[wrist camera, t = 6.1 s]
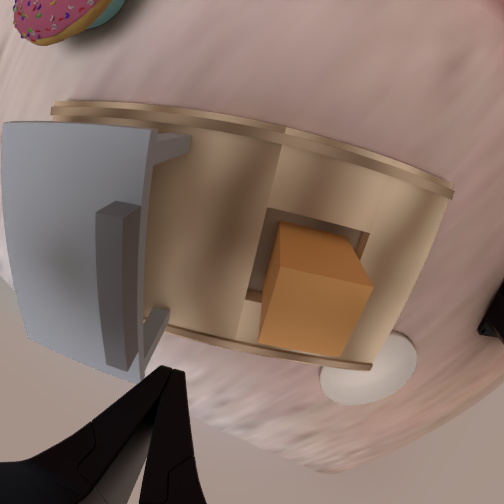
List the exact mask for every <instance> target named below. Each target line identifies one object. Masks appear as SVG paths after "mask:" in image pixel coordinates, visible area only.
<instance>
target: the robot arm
mask: <svg viewBox="0 0 504 504" xmlns="http://www.w3.org/2000/svg"><path fill="white" fill-rule="evenodd" d="M478 333H479V334H480V335H484V336H492V337H498V338H499V339H500V341H501V342H502V343H503V345H504V282H503V284H502V286H501V288H500V290H499V292H498V294H497V296H496V298H495V300H494V302H493V304H492V305H491V307H490V309H489V311H488V313H487V314H486V316H485V318H484V320H483V321H482V323H481V325H480V326H479V328H478ZM146 458H147V460H146ZM145 460H146V466H145V471H144V476H143V481H142V487H141V493H140V499H139V504H207V503H206V500H205V497H204V495H203V492H202V488H201V485H200V482H199V478H198V473H197V468H196V461H195V457H194V448H193V441H192V433H191V425H190V417H189V408H188V399H187V389H186V378H185V372H184V371H181V370H177V369H172V368H170V367H167V366H163V365H161V366H159V367H158V368H157V369H155V370H154V371H153V372H152V373H150V374H149V375H148V376H147V377H146V378H144V379H143V380H142V381H141V382H139V383H138V384H137V385H136V386H134V387H133V388H132V389H131V390H130V391H128V392H127V393H126V394H125V395H123V396H122V397H121V398H120V399H118V400H117V401H116V402H115V403H113V404H112V405H111V406H110V407H109V408H107V409H106V410H105V411H103V412H102V413H101V414H99V415H98V416H97V417H96V418H94V419H93V420H92V422H89V423H88V424H86V425H85V426H84V427H83V428H81V429H80V430H78V431H77V432H76V433H74V434H73V435H72V436H70V437H68V438H66V439H65V440H63V441H61V442H60V443H58V444H56V445H54V446H52V447H51V448H49V449H47V450H45V451H43V452H42V453H40V454H38V455H36V456H34V457H32V458H29V459H26V460H23V461H16V462H0V504H127V502H128V500H129V497H130V495H131V492H132V490H133V488H134V486H135V483H136V481H137V478H138V476H139V474H140V472H141V469H142V467H143V465H144V462H145Z"/></svg>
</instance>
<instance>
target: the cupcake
mask: <svg viewBox="0 0 504 504" xmlns="http://www.w3.org/2000/svg"><path fill="white" fill-rule="evenodd" d="M124 2H125V0H15V5H14V7H13V11H14V22H13V24H15V28H17V30H18V31H19V33H20V34H21V38H25V39H27V40H28V41H30V42H31V43H33V44H36V45H39V46H48V45H51V44H54V43H58V42H60V41H62V40H64V39H66V38H67V37H70V36H72V35H76V34H79V33H81V32H83V31H84V30H85V29H88V28H94V27H98V26H100V25H102V24H104V23H106V22H107V21H109V20H110V19H111V18H112V17H113V16H115V15H116V13H117V12H118V11H119V10H120V9H121V7H122V6H123V4H124Z"/></svg>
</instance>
